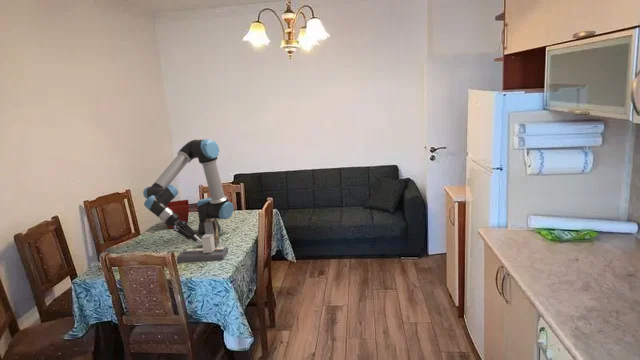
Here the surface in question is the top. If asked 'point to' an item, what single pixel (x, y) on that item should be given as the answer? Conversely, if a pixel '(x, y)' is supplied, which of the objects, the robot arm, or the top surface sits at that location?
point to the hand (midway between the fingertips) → (201, 243)
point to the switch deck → (202, 255)
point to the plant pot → (179, 210)
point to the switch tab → (208, 243)
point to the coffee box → (212, 229)
